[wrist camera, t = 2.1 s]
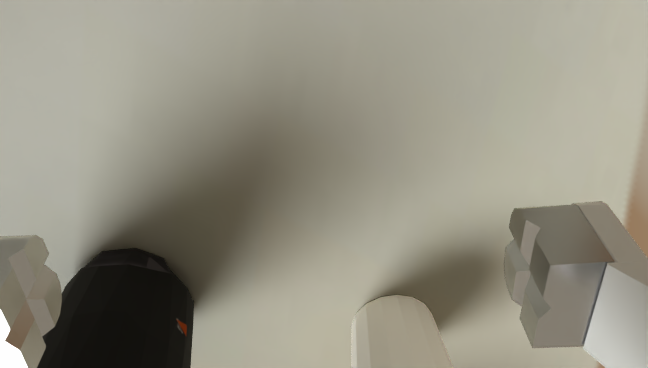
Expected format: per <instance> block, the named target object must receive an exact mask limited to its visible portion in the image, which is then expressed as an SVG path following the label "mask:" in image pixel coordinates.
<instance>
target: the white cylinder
mask: <svg viewBox="0 0 648 368" xmlns="http://www.w3.org/2000/svg"><path fill="white" fill-rule="evenodd" d="M351 368H454V367H453V365H452V362H451V360H450V357H449V355H448V352H447V350H446V347H445V345H444V342H443V340H442V337H441V335H440V333H439V330H438V328H437V325H436V323H435V320H434V318H433V315H432V313H431V312H430V310H429V309H428V307H427V306H426V305H425V304H424V303H423V302H421V301H419V300H417V299H415V298H413V297H409V296H402V295H392V296H385V297H380V298H377V299H375V300H373V301H371V302H369V303H367V304H365V305H364V306H363V307H362V308H361V309H360V310H359V311H358V312H357V313H356V314H355V317H354V319H353V322H352V324H351Z"/></svg>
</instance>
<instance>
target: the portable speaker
mask: <svg viewBox="0 0 648 368" xmlns="http://www.w3.org/2000/svg"><path fill="white" fill-rule="evenodd" d="M193 311H194V300H192V299H191V296H190V293H189V291H188V289H187V288H186V286H185V285H184V284H183V283H182V282H181V281H180V280H179V279H178V278H177V277H176V276H175V275H174V274H173V273H172V272H171V271H170V270H169V268H168V266H167V264H166V262H165V260H164V259H163V258H161V257H158V256H155V255H153V254H150V253H147V252H145V251H142V250H139V249H137V248H133V249H123V250H113V251H103V252H101V253H100V254H99V255H98V256H97V257H96V258H94V259H93V260H92V261H91V262H90V263H88V264H87V265H86V266H85V267H84V268H82V269H81V270H80V271H79V272H78V273H77V274H76V275H75V276H74V277H73V278H72V279H71V281H70V282H69V283H68V284H67V285H66V287H65V289H64V291H63V292H62V303H61V311H60V315H59V318H58V320H57V323H56V325H55V327H54V328H53V329H51V330H50V331H49V332H47V333H46V334H45V335H44V336H42V338H43V340H44V343H45V345H46V348H45V351H44V353H43V355H42V357H41V360H40V362H39V364H38V366H37V368H190V365H191V349H192V334H193Z"/></svg>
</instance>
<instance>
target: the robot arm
mask: <svg viewBox="0 0 648 368" xmlns="http://www.w3.org/2000/svg"><path fill="white" fill-rule="evenodd" d="M509 229H510V231H511V233H512V235H513V237H514V239H513V240H512V241H511V243H510V244H509V245H508V246H507V247H506V249H505V257H504V273H505V281H506V285H507V289H508V291H509V294H510V296H511V299H512V300H513V301H515V302H516V303H518V304H519V305H520V306H522V309H521V314H520V320H521V323H522V325H523V327H524V330H525V332H526V334H527V337H528V339H529V341H530V344H531V346H532V348H550V347H580V346H584V347H583V349H584V350H585V351H586V352H588V353H589V354H590V355H591V356H592V357H594V358H595V359H596V360H597V361H598V362H600V363H601V364H602V365H603V366H604V367H606V368H648V258H647V257H646V255H645V254H644V253H643V251H642V250H641V249H640V247H639V246H638V245H637V243H636V242H635V241H634V239H633V238H632V237H631V235H630V234H629V233H628V231H627V230H626V229H625V227H624V226H623V225H622V223H621V222H620V221H619V219H618V218H617V217H616V215H615V214H614V213H613V211H612V210H611V209H610V207H609V206H608V205H607V204H606V203H604V202H602V201H597V202H585V203H573V204H571V205H558V206H542V207H526V208H514V210H513V212H512V214H511V218H510V224H509ZM48 255H49V252H48V250H47V248H46V245H45V243H44V241H43V239H42V238H40V237H38V236H37V235H25V236H0V368H37V366H38V364H39V362H40V360H41V357H42V355H43V353H44V351H45V348H46V345H45V343H44V340H43V338H42V336H44V335H45V334H46V333H47V332H49V331H50V330H51V329H53V328H54V327H55V325H56V323H57V320H58V318H59V315H60V311H61V303H62V293H61V285H60V282H59V279H58V276H57V274H56V273H55V272H54V271H52V270H51V269H50V268H48V267H47V266H46V265H44V263H45V261H46V259H47V257H48Z"/></svg>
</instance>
